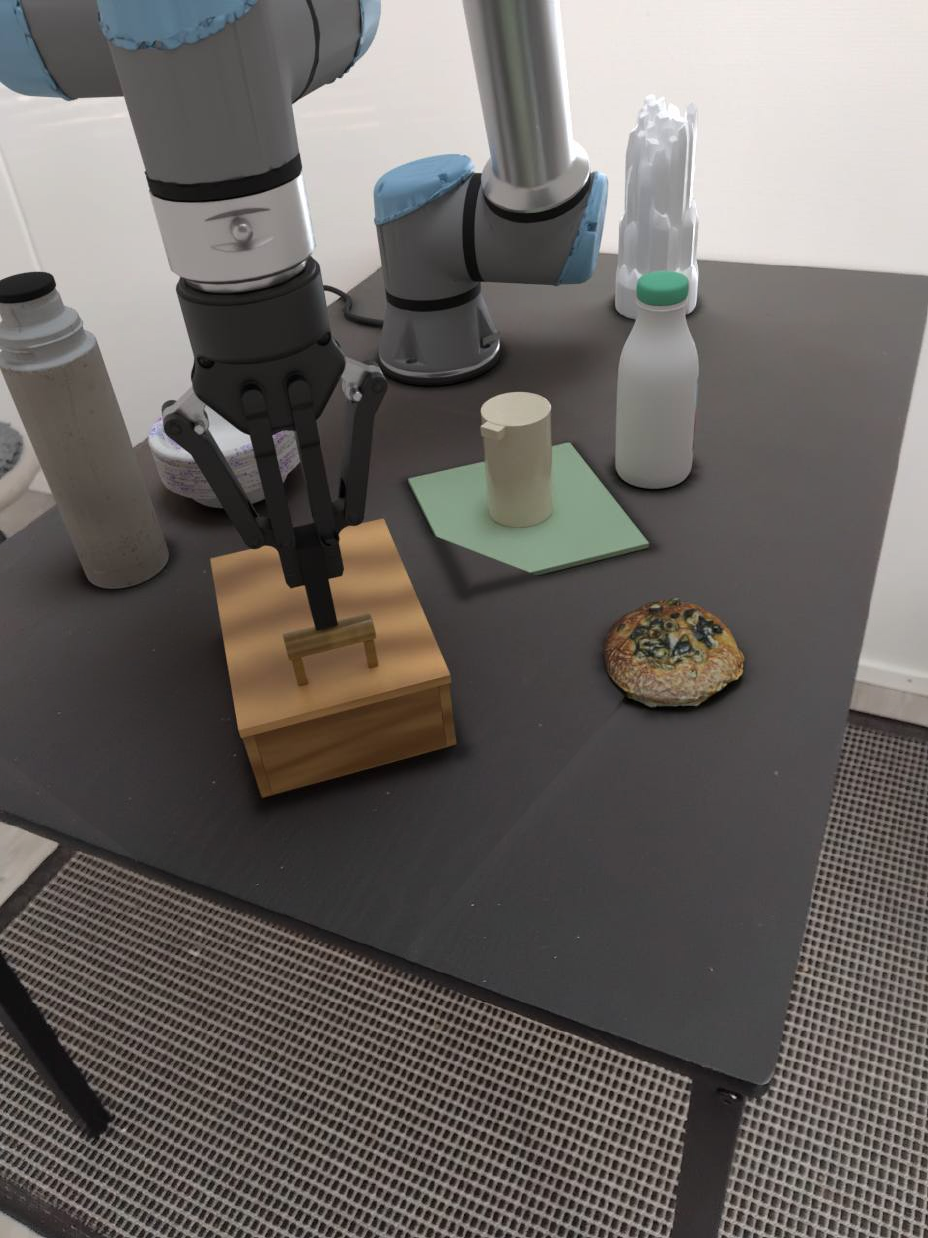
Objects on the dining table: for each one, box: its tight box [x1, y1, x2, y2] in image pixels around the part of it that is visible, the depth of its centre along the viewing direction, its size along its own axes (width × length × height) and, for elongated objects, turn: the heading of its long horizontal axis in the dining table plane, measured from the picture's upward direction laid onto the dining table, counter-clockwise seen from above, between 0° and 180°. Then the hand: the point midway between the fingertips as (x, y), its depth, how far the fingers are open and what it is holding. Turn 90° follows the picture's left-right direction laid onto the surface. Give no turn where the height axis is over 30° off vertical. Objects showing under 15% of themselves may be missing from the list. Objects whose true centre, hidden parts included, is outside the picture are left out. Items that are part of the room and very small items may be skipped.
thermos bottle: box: [0, 271, 170, 590], centre depth 86 cm, size 8×8×28 cm
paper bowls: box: [147, 405, 300, 509], centre depth 102 cm, size 15×15×8 cm
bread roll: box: [603, 597, 746, 708], centre depth 77 cm, size 11×11×5 cm
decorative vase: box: [614, 93, 699, 320], centre depth 124 cm, size 11×11×25 cm
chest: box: [241, 683, 457, 799], centre depth 77 cm, size 20×15×8 cm
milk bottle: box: [614, 271, 700, 490], centre depth 94 cm, size 8×8×20 cm
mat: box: [407, 441, 650, 576], centre depth 96 cm, size 20×18×1 cm
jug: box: [480, 391, 553, 528], centre depth 93 cm, size 9×6×11 cm
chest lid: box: [209, 518, 452, 739], centre depth 72 cm, size 20×15×5 cm
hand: (323, 615), depth 66 cm, fingers closed
